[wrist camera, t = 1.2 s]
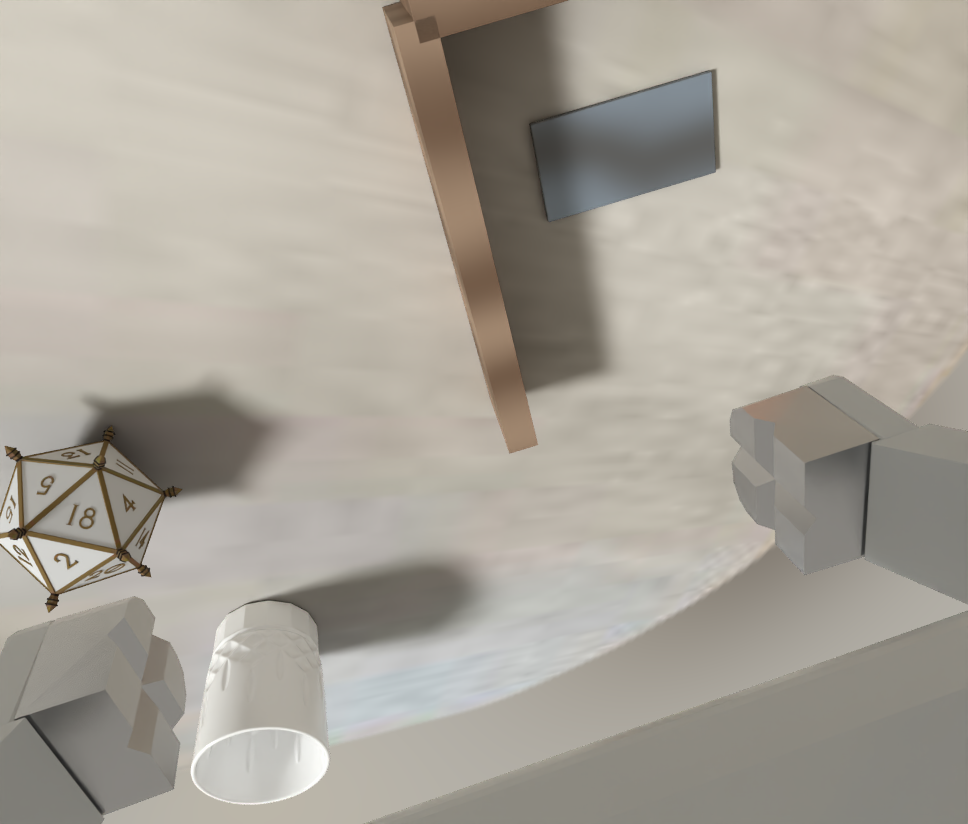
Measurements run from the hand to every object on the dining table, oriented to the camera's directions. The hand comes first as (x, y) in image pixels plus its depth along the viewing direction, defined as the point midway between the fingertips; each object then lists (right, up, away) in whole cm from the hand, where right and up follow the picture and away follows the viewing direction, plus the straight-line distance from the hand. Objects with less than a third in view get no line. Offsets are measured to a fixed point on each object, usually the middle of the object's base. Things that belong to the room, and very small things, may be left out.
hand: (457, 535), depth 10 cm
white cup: (-15, -14, +43) cm, 48 cm away
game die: (-21, -1, +33) cm, 39 cm away
